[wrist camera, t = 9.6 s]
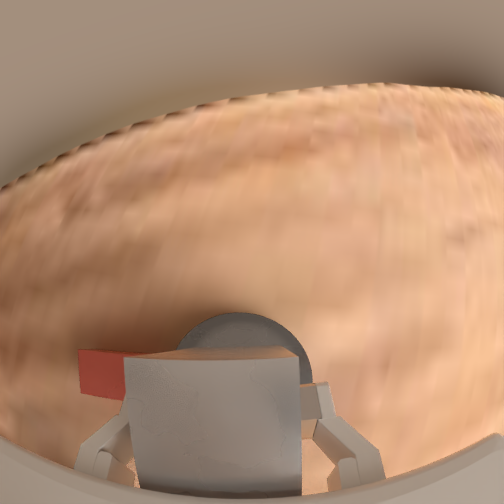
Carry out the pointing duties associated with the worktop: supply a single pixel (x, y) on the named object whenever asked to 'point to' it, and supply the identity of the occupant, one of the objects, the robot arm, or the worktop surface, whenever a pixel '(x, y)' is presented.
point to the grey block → (217, 421)
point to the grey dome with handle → (203, 335)
